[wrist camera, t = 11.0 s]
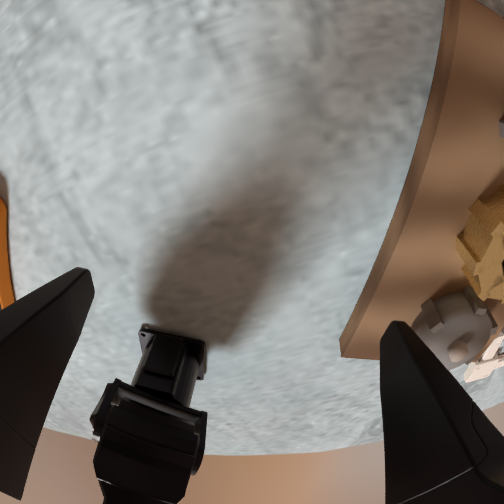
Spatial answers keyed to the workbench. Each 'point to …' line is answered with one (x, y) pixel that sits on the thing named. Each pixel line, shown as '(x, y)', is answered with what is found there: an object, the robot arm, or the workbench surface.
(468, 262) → the brass gear
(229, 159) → the workbench surface
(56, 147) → the workbench surface
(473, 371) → the corner connector
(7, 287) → the multimeter
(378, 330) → the gear board
